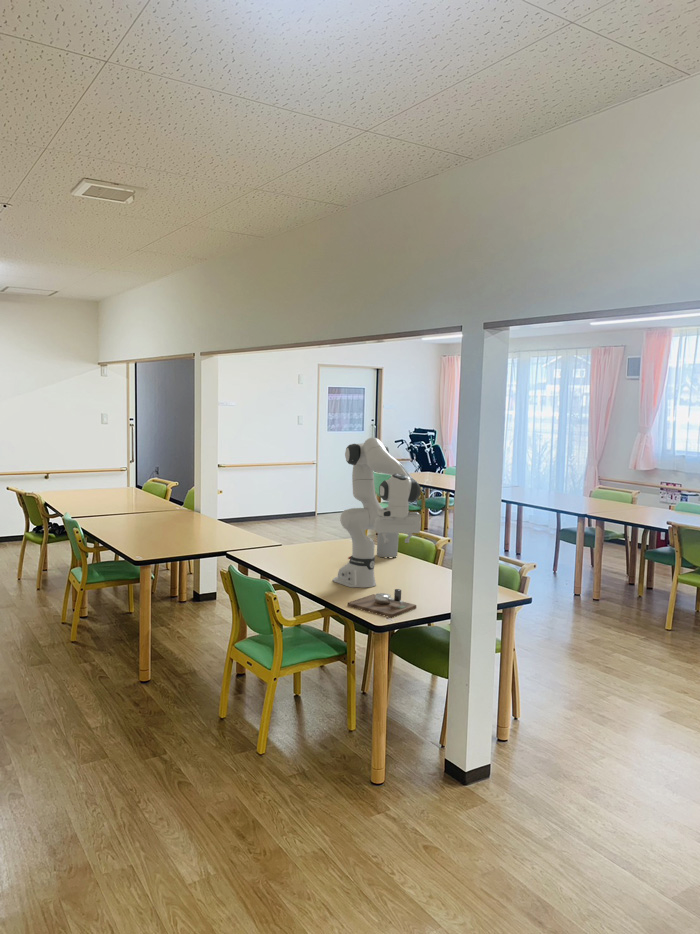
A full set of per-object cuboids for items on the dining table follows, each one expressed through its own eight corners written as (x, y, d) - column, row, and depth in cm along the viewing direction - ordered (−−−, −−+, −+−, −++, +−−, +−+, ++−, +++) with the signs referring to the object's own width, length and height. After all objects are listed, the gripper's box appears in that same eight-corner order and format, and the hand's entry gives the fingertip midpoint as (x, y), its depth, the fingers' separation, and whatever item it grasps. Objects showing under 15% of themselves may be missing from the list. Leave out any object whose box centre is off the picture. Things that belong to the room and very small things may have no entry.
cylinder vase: (373, 554, 419) (375, 513, 417) (391, 553, 424) (393, 513, 422) (382, 559, 408) (384, 517, 405) (401, 558, 413) (403, 516, 411)
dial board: (347, 605, 311) (347, 602, 310) (373, 597, 326) (373, 593, 326) (391, 617, 296) (391, 614, 296) (416, 608, 312) (416, 604, 312)
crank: (372, 601, 313) (372, 586, 312) (381, 598, 318) (382, 583, 317) (397, 608, 304) (398, 592, 303) (406, 605, 309) (407, 589, 309)
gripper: (418, 510, 305) (417, 541, 306) (374, 510, 301) (372, 541, 302) (423, 513, 299) (421, 544, 300) (377, 512, 295) (376, 544, 296)
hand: (396, 543), depth 301 cm, fingers open, 8 cm apart
